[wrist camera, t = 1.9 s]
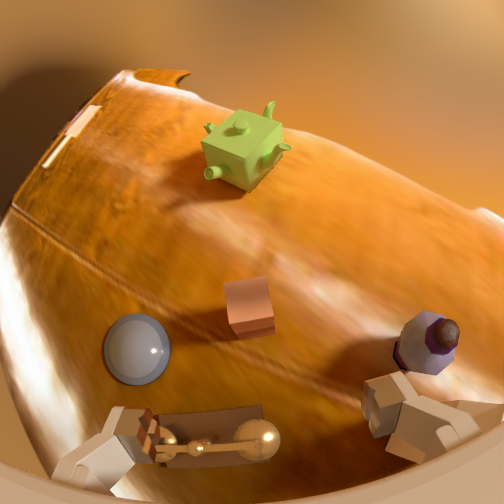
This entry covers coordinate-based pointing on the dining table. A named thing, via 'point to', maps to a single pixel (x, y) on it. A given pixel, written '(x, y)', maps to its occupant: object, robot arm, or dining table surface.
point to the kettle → (243, 148)
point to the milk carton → (480, 412)
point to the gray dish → (137, 349)
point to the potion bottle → (426, 343)
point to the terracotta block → (249, 307)
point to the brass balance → (216, 438)
